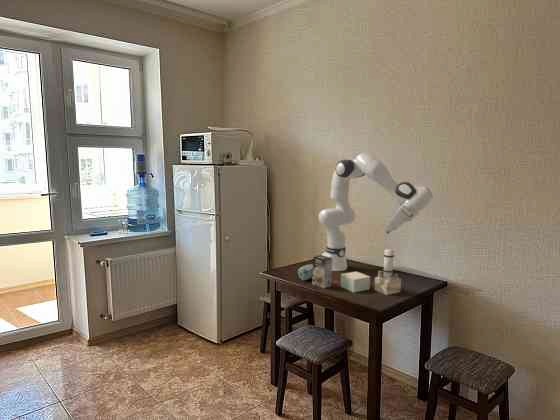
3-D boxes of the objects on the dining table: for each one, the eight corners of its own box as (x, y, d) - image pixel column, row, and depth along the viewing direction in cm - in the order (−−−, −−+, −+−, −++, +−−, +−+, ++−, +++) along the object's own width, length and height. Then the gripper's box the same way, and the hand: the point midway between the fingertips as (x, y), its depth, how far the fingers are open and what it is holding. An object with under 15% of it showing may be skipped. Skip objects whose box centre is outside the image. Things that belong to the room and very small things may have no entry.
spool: (306, 278, 217) (304, 260, 221) (295, 282, 223) (293, 265, 227) (323, 279, 225) (321, 262, 229) (312, 283, 232) (309, 267, 236)
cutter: (328, 284, 217) (328, 281, 216) (333, 282, 221) (333, 279, 221) (350, 289, 208) (350, 287, 207) (355, 287, 212) (355, 284, 212)
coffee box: (311, 284, 216) (312, 256, 214) (319, 282, 220) (320, 254, 218) (323, 288, 209) (324, 259, 207) (331, 286, 213) (332, 257, 211)
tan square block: (374, 289, 208) (375, 271, 207) (387, 287, 213) (388, 269, 212) (386, 295, 200) (387, 276, 199) (400, 291, 205) (401, 273, 204)
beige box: (340, 286, 213) (340, 274, 212) (355, 283, 218) (356, 271, 218) (353, 292, 204) (354, 279, 203) (369, 289, 209) (370, 276, 208)
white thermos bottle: (380, 277, 207) (382, 249, 205) (387, 276, 209) (389, 249, 207) (387, 280, 202) (389, 251, 201) (394, 278, 205) (396, 250, 203)
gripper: (400, 212, 210) (382, 230, 210) (402, 204, 190) (382, 224, 191) (409, 220, 208) (391, 238, 208) (412, 213, 188) (391, 233, 189)
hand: (386, 231), depth 199 cm, fingers open, 8 cm apart
